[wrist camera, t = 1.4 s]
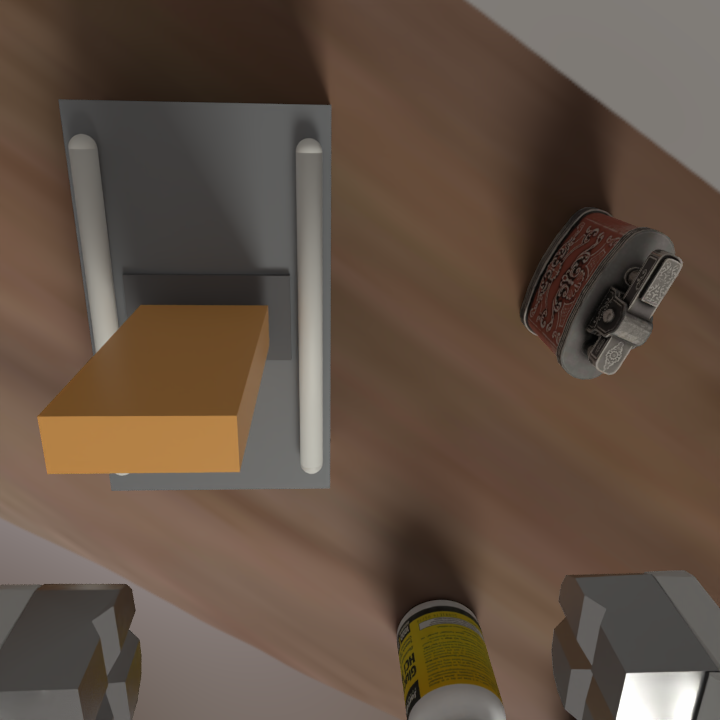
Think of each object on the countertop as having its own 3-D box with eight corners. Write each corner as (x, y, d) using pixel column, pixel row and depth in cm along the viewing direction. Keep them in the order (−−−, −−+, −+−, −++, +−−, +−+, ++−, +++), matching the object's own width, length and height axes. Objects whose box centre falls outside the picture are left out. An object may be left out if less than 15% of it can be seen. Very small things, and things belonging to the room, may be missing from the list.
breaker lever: (268, 305, 31) (236, 415, 20) (269, 344, 32) (239, 472, 21) (140, 304, 31) (37, 416, 20) (144, 344, 32) (47, 473, 21)
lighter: (554, 341, 41) (623, 410, 31) (507, 320, 40) (562, 385, 31) (624, 221, 38) (720, 258, 29) (575, 197, 38) (658, 227, 28)
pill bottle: (389, 603, 48) (407, 741, 37) (474, 589, 47) (515, 723, 37) (401, 667, 50) (421, 814, 39) (482, 654, 50) (523, 797, 39)
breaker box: (330, 105, 35) (331, 105, 28) (329, 437, 42) (330, 500, 36) (101, 100, 35) (47, 98, 28) (140, 439, 42) (104, 502, 35)
